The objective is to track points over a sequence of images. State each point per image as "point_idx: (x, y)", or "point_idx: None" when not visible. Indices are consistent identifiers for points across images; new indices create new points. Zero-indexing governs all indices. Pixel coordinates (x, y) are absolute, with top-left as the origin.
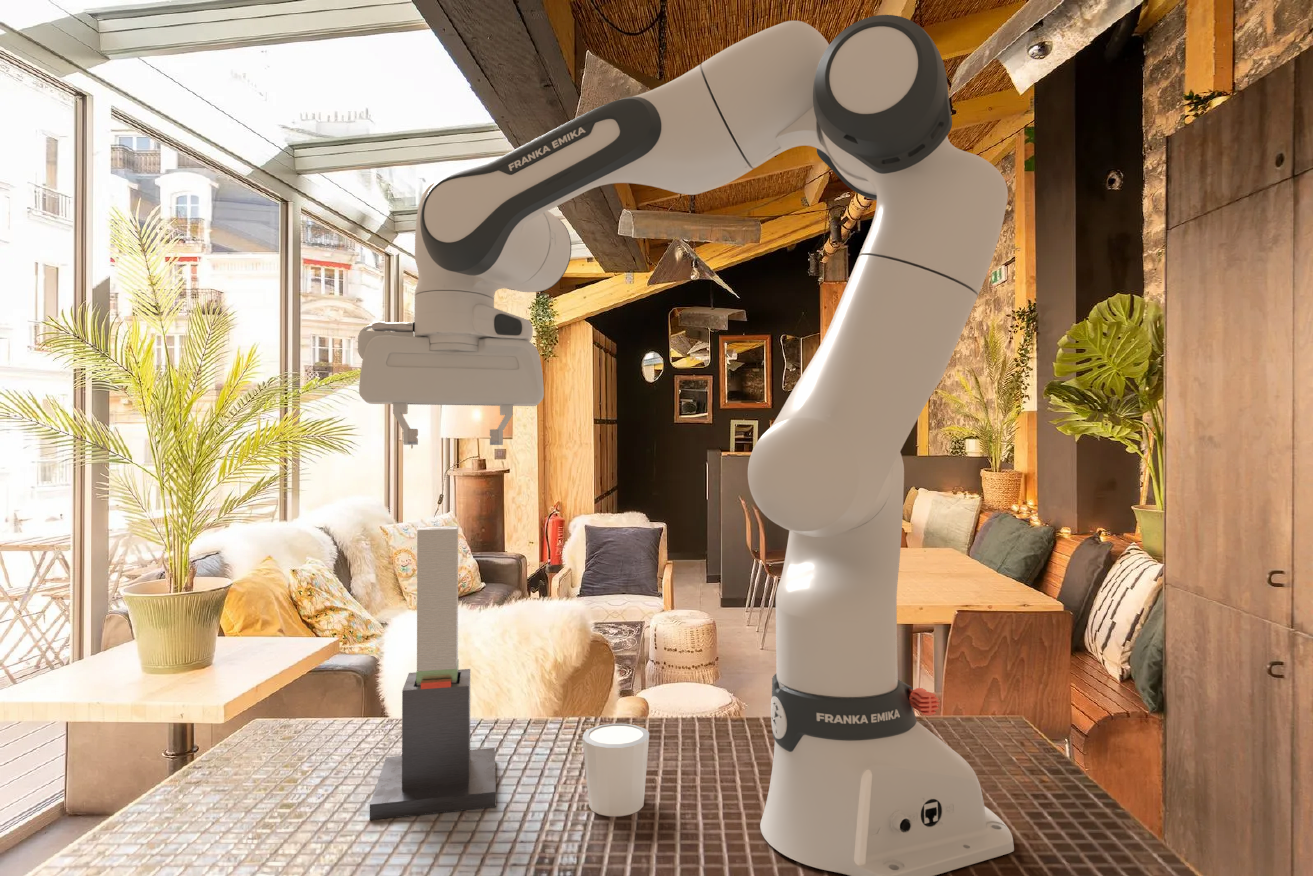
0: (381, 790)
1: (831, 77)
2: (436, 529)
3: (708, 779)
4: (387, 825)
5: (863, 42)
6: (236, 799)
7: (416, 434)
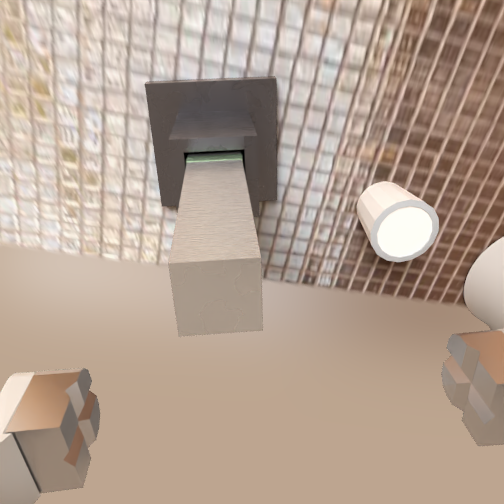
0: (164, 178)
1: None
2: (219, 333)
3: (480, 170)
4: None
5: None
6: (4, 130)
7: (89, 459)
